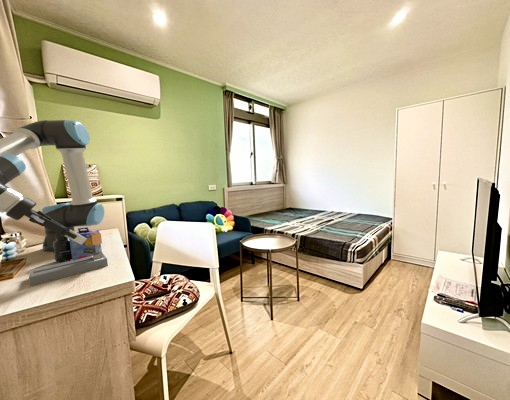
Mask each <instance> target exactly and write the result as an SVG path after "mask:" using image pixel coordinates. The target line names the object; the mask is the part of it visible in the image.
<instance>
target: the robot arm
mask: <svg viewBox="0 0 510 400" xmlns="http://www.w3.org/2000/svg"><path fill="white" fill-rule="evenodd" d="M90 140H91V138H90V133H89V131H88V129H87V128H86V127H85V126H84V124H83V123H81V122H79V121H77V120H71V119H64V120H62V119H59V120H58V119H57V120H54V119H53V120H50V119H48V120H44V119H43V120H39V121H33V122H31V123H28V124H26V125H23V126H21V127H18V128H15V129H14V130H13V132H12V133H11V134H9V135H7V136H4V137H2V138H0V213H2V214H3V213H5V216H6V217H9V218H11V219H13V220H16V221H19V220H20V219H22V218H23V217H24V216H25V217H26V218H28V221H29V222H31V223H33V224H37V225H38V226H41V227H44V233H45V236H44V239H43V242H42V251H43V252H54V246H53V243H54V241H56V240H57V239H56V236H55V235H56V234H60V235H62V236H61V237H64V236H65V237H67V238H69V239H71V240H73V241H75V242H77V243H79V244H81V245H82V244H83V243H84V242H85V240H86V239H87V238H85V237H83V236H81V235H79V234H78V233H76V232H77V231H75V227H77V228H78V227H91V226H97V225H100V224H101V223H102V221H103V219H104V217H105V207H104V206H103V204H102V203H98V199H97V198H95V197H93V192H92V187H91V183H90V177H89V173H88V167H87V163H86V157H85V154H84V151H85V150H86V149H87V147H86V146H87V145H89V144H90ZM45 146H55V149H56V151H58V152H60V153H61V157H62V160H63V166H64V170H65V174H66V175H65V176H66V179H67V182H68V187H69V191H70V195H71V199H72V200H71V201H70V202H66V203H65V202H64V203H59V204H58V203H57V204H51V205H47V206H44V207H42V209H41V210H42V211H41V210H38V211H36V210H34V207H35V206H36V205H37V202H36V201H34V200H32V199H30V198H29V197H23V196H24V195H23V194H22V193H20V192H19V191H17V190H15V189H13V188H11V187H9V186H7V185H6V184H8V183H10V182H11V181H13V180H14V179H16V178H18V177H19V176H20V175H21V174H22V173H24V172H25V171H26V169H27V167H26V166H27V165H26V164H25V163H26V162H24V160H23V159H21V158H20V157H19V155H21V154H22V153H24V152H26V151H28V150H30V149H31V150H34V149H38V148H40V147H45Z"/></svg>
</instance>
